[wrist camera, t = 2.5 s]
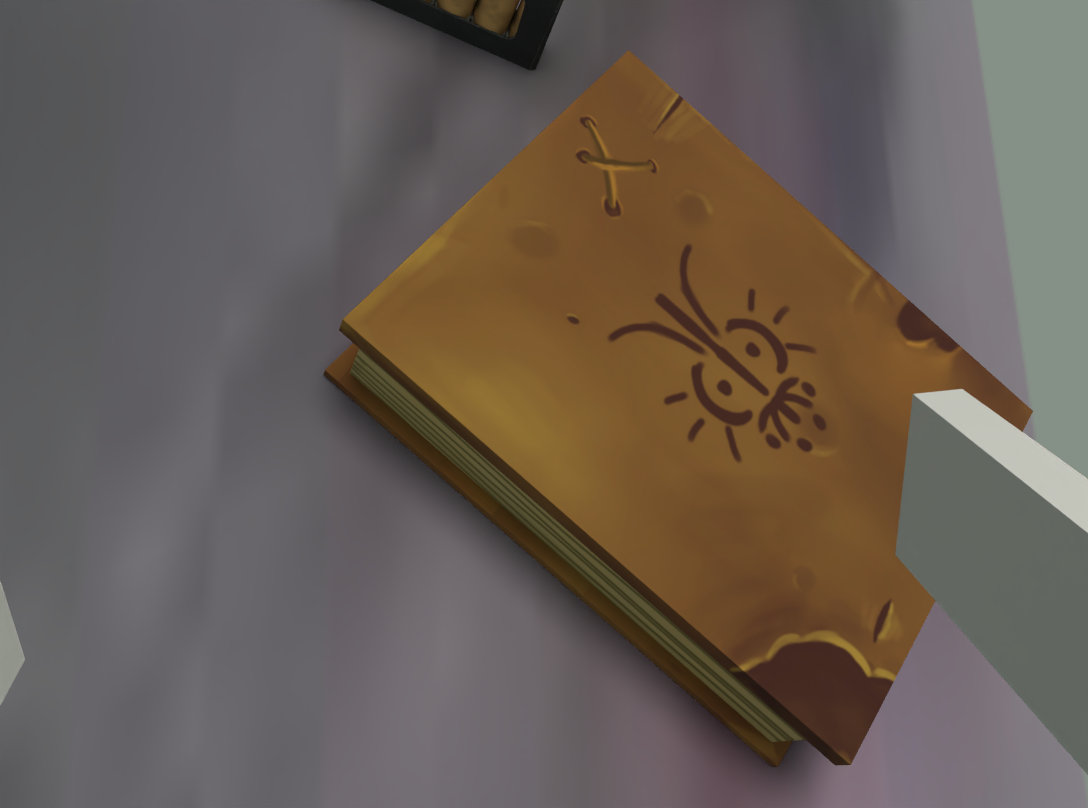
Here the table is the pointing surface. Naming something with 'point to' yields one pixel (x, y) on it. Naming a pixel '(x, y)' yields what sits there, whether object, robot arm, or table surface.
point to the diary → (675, 406)
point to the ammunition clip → (489, 23)
